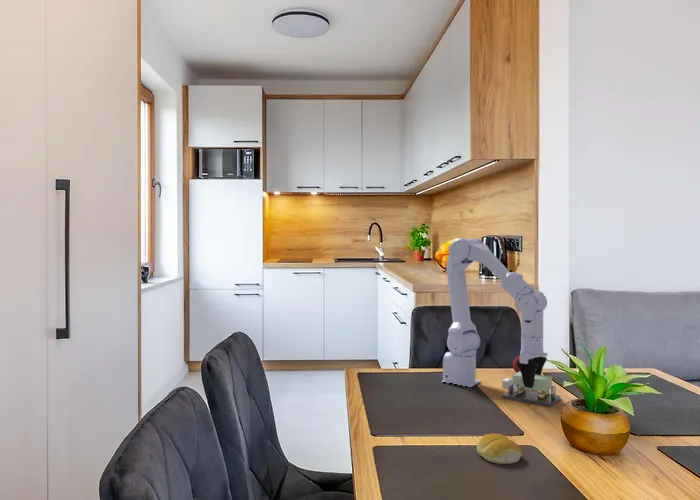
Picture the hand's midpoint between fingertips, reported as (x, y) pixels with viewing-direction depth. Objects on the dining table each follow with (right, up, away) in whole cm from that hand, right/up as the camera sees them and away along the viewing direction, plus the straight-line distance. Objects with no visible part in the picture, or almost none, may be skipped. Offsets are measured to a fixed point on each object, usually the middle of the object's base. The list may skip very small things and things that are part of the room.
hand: (531, 384), depth 143 cm
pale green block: (0, -1, 0) cm, 1 cm away
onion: (+5, -4, +23) cm, 23 cm away
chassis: (0, -4, 0) cm, 4 cm away
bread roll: (-20, -5, -38) cm, 43 cm away
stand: (-1, -4, +10) cm, 11 cm away
